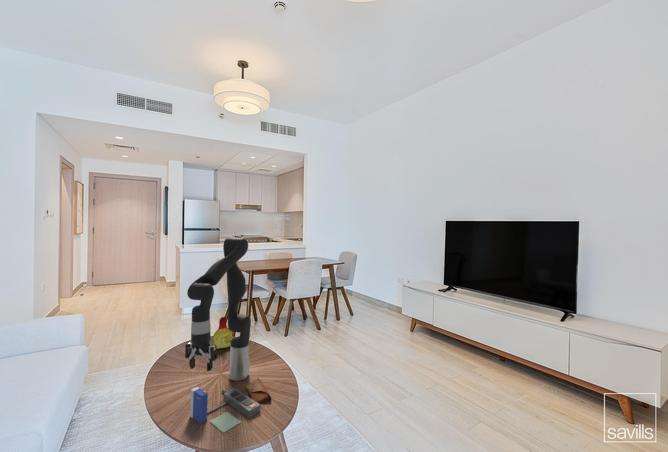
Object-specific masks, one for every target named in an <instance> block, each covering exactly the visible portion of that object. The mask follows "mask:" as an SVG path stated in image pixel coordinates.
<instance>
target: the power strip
mask: <svg viewBox="0 0 668 452" xmlns="http://www.w3.org/2000/svg"><path fill="white" fill-rule="evenodd" d="M221 392H222V393H223V401H224V400H225V401H224V403H221V404H219V405H218V406H216V407H214V408H212V409H210V410H207V415H209V414H211V413H213V412H215V411H217V410H219V409H221V408H223V407H225V406H227V405H228V403H229V405H230V406H231V405H232V407H233V408H234V409H236V410H237V411H238V412H240V413H241V414H242V415H244V416H245V417H247V418H248V419H250V418H252V417H253V416H255V415H257V414H258V413H259V412H261V404H259V403H257V402H256V401H254V400H253V399H251V398H250V396H248V395H246V394H245V393H243V392H242V391H240V390H239V389H237V388H232V389H231V390H228V391H226V390H224V389H221ZM226 404H227V405H226ZM224 405H225V406H224ZM222 406H223V407H222Z"/></svg>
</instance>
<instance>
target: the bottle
mask: <svg viewBox="0 0 668 452" xmlns="http://www.w3.org/2000/svg"><path fill="white" fill-rule="evenodd" d="M218 325H219V326H218V329H217V330H216V331H215V332H214V333H213V337H212V344H213V345H212V346H214V345H216V347H217V350H218V349H224V348H225V349H226V348H229V347H230V346H231V340H232V339H233V332H232V331H230V330H229V329H228V321H227V318H226V317H225V316H222V317H220V319H219V322H218Z"/></svg>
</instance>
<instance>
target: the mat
mask: <svg viewBox="0 0 668 452" xmlns="http://www.w3.org/2000/svg"><path fill="white" fill-rule="evenodd" d="M209 423H210V424H212V425H213V426H214V427H215V428H216V429H218V430H219V431H220V432H221V433H222V434H225V433H227V432H228V431H230V430H232V429H233V428H234V427H236V426H238V425H240V424H241V423H242V422H241V421H240V420H239V419H238V418H236V417H235V416H233V414H231V413H230V412H228V411H226V412H224V413H222V414H220V415H218V416H217V417H214V418H213V419H211V420H209Z"/></svg>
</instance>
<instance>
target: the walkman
mask: <svg viewBox="0 0 668 452" xmlns="http://www.w3.org/2000/svg"><path fill="white" fill-rule="evenodd" d="M208 397H209V393H208V392H207V391H206V390H204V389H201V388H200V387H198V386H195V387H193V388H191V389H190V407H189V409H190V412H189V417H190V418H192V419H193V420H194V421H196V422H197V423H199V424H201V425H202V424H203V423H205V422H206V421H208V414H207V412H208Z"/></svg>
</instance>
